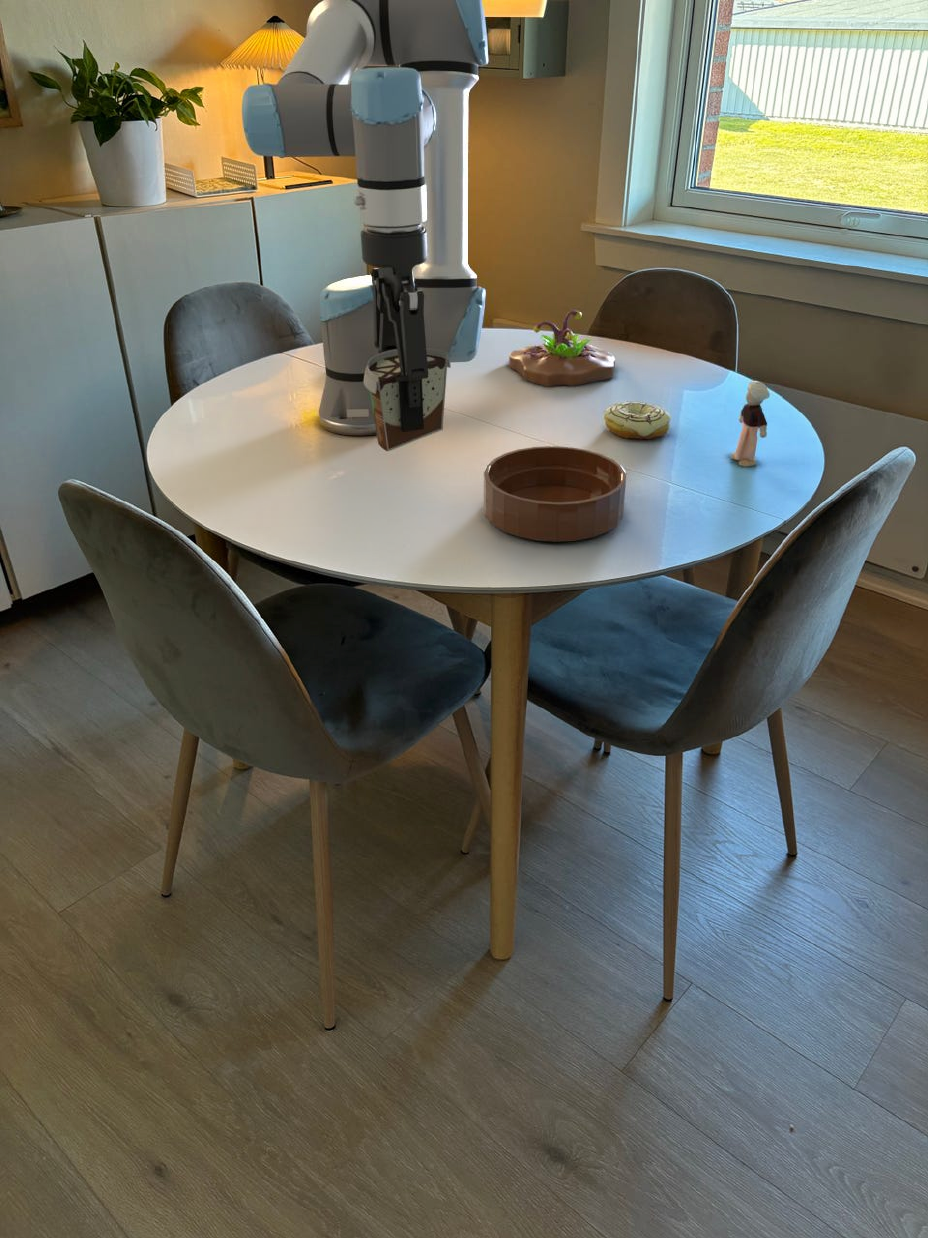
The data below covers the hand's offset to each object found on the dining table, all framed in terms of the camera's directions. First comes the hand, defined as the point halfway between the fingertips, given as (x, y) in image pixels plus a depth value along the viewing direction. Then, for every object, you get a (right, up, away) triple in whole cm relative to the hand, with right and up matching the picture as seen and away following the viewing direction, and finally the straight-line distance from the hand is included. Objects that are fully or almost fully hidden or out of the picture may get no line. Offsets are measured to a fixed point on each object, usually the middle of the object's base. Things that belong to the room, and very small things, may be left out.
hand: (403, 418), depth 118 cm
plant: (+27, +24, +65) cm, 75 cm away
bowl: (+20, -11, +12) cm, 26 cm away
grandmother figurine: (+51, -1, +26) cm, 57 cm away
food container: (-1, -2, +2) cm, 3 cm away
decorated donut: (+37, +6, +38) cm, 53 cm away
